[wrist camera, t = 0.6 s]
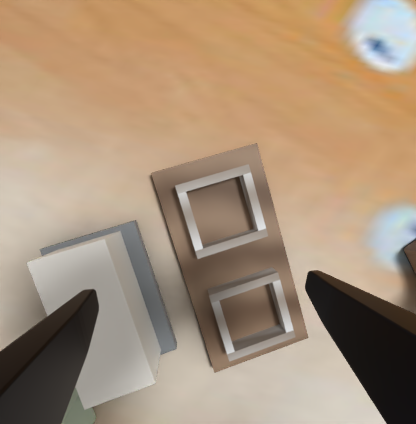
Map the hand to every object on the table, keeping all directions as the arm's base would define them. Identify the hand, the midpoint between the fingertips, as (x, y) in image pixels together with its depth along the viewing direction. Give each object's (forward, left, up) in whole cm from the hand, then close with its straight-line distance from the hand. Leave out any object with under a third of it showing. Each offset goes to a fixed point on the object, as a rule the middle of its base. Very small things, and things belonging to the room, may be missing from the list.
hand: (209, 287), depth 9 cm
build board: (-4, -3, -14) cm, 14 cm away
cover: (-4, +10, -13) cm, 16 cm away
